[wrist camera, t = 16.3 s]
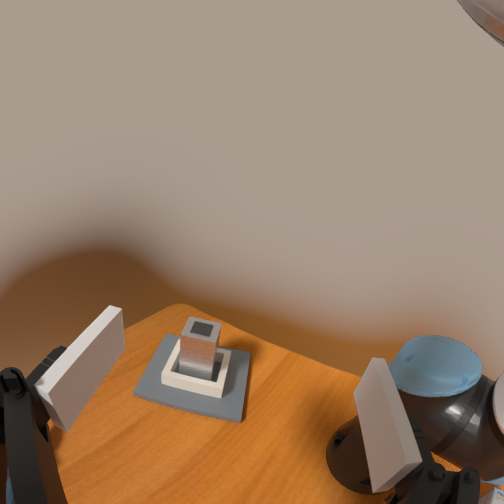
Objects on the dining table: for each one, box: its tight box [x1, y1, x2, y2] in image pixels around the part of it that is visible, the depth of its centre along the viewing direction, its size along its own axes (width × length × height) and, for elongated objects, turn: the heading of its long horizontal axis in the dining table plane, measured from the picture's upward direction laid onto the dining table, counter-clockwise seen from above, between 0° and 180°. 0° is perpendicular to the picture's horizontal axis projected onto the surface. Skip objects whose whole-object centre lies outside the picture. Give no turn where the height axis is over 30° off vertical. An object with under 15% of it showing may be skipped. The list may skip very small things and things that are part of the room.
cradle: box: [133, 333, 251, 423], centre depth 47 cm, size 18×18×4 cm
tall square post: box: [179, 317, 222, 381], centre depth 46 cm, size 6×6×10 cm
